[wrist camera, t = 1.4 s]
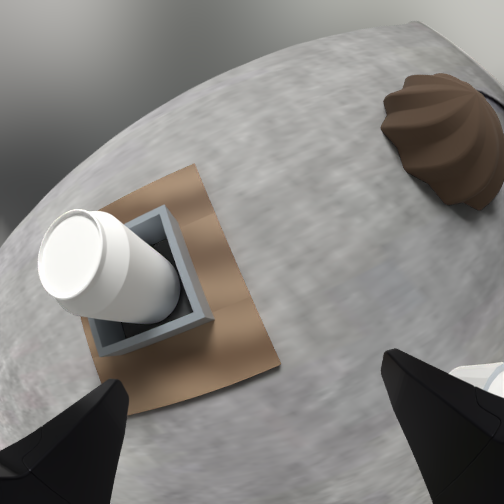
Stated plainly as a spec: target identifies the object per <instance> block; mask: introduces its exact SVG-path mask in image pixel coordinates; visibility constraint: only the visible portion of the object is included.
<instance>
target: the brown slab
mask: <svg viewBox="0 0 504 504" xmlns="http://www.w3.org/2000/svg"><path fill="white" fill-rule="evenodd" d="M164 204H165V206H166V207H167V208H168V210H169V211H170V212H171V214H172V215H173V216H174V218H175V219H176V220H177V222H178V224H179V227H180V229H181V232H182V235H183V238H184V241H185V244H186V246H187V249H188V252H189V255H190V257H191V260H192V263H193V265H194V268H195V271H196V273H197V276H198V279H199V281H200V284H201V286H202V289H203V291H204V294H205V296H206V299H207V301H208V304H209V306H210V309H211V311H212V314H213V316H214V319H215V320H212V321H210V322H208V323H205V324H203V325H200V326H198V327H195V328H193V329H190V330H188V331H185V332H183V333H180V334H177V335H175V336H172V337H170V338H167V339H164V340H162V341H159V342H156V343H154V344H151V345H148V346H146V347H143V348H140V349H137V350H135V351H132V352H129V353H126V354H123V355H118V356H108V357H99V355H98V352H97V349H96V345H95V342H94V339H93V336H92V332H91V329H90V325H89V321H88V318H87V317H82V316H81V320H82V324H83V328H84V332H85V335H86V339H87V342H88V345H89V349H90V352H91V355H92V358H93V361H94V364H95V367H96V370H97V372H98V375H99V378H100V381H101V383H104V382H105V381H107V380H108V379H119V380H120V381H121V382H122V384H123V386H124V388H125V389H126V391H127V393H128V395H129V407H128V414H127V415H132V414H136V413H140V412H144V411H148V410H152V409H156V408H160V407H163V406H167V405H170V404H174V403H177V402H181V401H184V400H187V399H190V398H193V397H197V396H200V395H203V394H206V393H209V392H212V391H214V390H217V389H220V388H223V387H226V386H229V385H231V384H234V383H237V382H239V381H242V380H244V379H247V378H249V377H252V376H255V375H257V374H259V373H262V372H264V371H267V370H269V369H271V368H274V367H276V366H278V365H281V362H280V360H279V358H278V356H277V353H276V351H275V349H274V347H273V345H272V342H271V340H270V338H269V336H268V334H267V331H266V329H265V327H264V325H263V322H262V320H261V318H260V316H259V313H258V311H257V309H256V307H255V304H254V302H253V300H252V298H251V295H250V293H249V291H248V288H247V286H246V284H245V282H244V279H243V277H242V275H241V272H240V270H239V268H238V266H237V263H236V261H235V259H234V256H233V254H232V252H231V249H230V247H229V245H228V242H227V240H226V238H225V235H224V233H223V231H222V228H221V226H220V223H219V221H218V219H217V216H216V214H215V212H214V209H213V207H212V204H211V202H210V200H209V197H208V195H207V192H206V190H205V188H204V185H203V183H202V180H201V178H200V176H199V173H198V171H197V168H196V166H195V163H194V164H192V165H190V166H187V167H185V168H183V169H181V170H178V171H176V172H174V173H172V174H169V175H167V176H165V177H163V178H161V179H159V180H156V181H154V182H152V183H150V184H148V185H146V186H144V187H142V188H140V189H138V190H136V191H134V192H132V193H130V194H128V195H126V196H124V197H122V198H120V199H118V200H117V201H115V202H113V203H111V204H109V205H107V206H105V207H104V208H102V209H100V210H98V211H102V212H106V213H109V214H111V215H112V216H114V217H115V218H116V219H118V220H119V221H120V222H121V223H123V224H125V223H127V222H129V221H131V220H133V219H135V218H137V217H139V216H141V215H143V214H145V213H147V212H149V211H152V210H154V209H156V208H158V207H160V206H162V205H164Z"/></svg>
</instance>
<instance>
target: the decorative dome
mask: <svg viewBox="0 0 504 504" xmlns="http://www.w3.org/2000/svg"><path fill="white" fill-rule="evenodd" d="M383 102H384V106H385V109H386V113H387V117H386V118H385V120H384V122H383V123H382V125H381V130H382V132H383V133H384V134H385V135H386V136H387V137H388V138H389V139H390V140H391V141H392V143H393V144H394V145H395V146H396V147H397V149H398V152H399V155H400V158H401V161H402V164H403V168H404V169H405V171H406V172H407V173H409V174H411V175H413V176H415V177H417V178H419V179H420V180H422V181H424V182H426V183H428V184H429V185H430V186H431V188H432V189H433V190H434V191H435V192H436V194H437V195H438V196H439V197H440V199H441V200H442V201H443V202H444V203H445V204H446V205H453V204H458V203H465V204H467V205H469V206H471V207H473V208H475V209H476V210H479V211H480V210H482V209H483V208H484V207H486V206H487V205H488V204H489V203H490V202H491V201H492V200H493V199H494V198H495V196H496V195H497V194H498V192H499V191H500V189H501V187H502V184H503V182H504V135H503V130H502V127H501V124H500V121H499V118H498V116H497V114H496V112H495V111H494V109H493V108H492V107H491V105H490V104H489V103H488V102H487V101H486V99H485V98H484V96H483V95H482V94H481V93H479V92H478V91H477V90H475V89H474V88H473V87H472V86H471V85H470V84H469V83H467V82H464V81H461V80H459V79H457V78H456V77H453V76H451V75H448V74H443V73H438V74H434V75H411V76H408V77H407V78H406V79H405V82H404V86H403V89H402V90H399V91H396V92H394V93H391V94H389V95H387V96H386V97H385V99H384V101H383Z"/></svg>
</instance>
